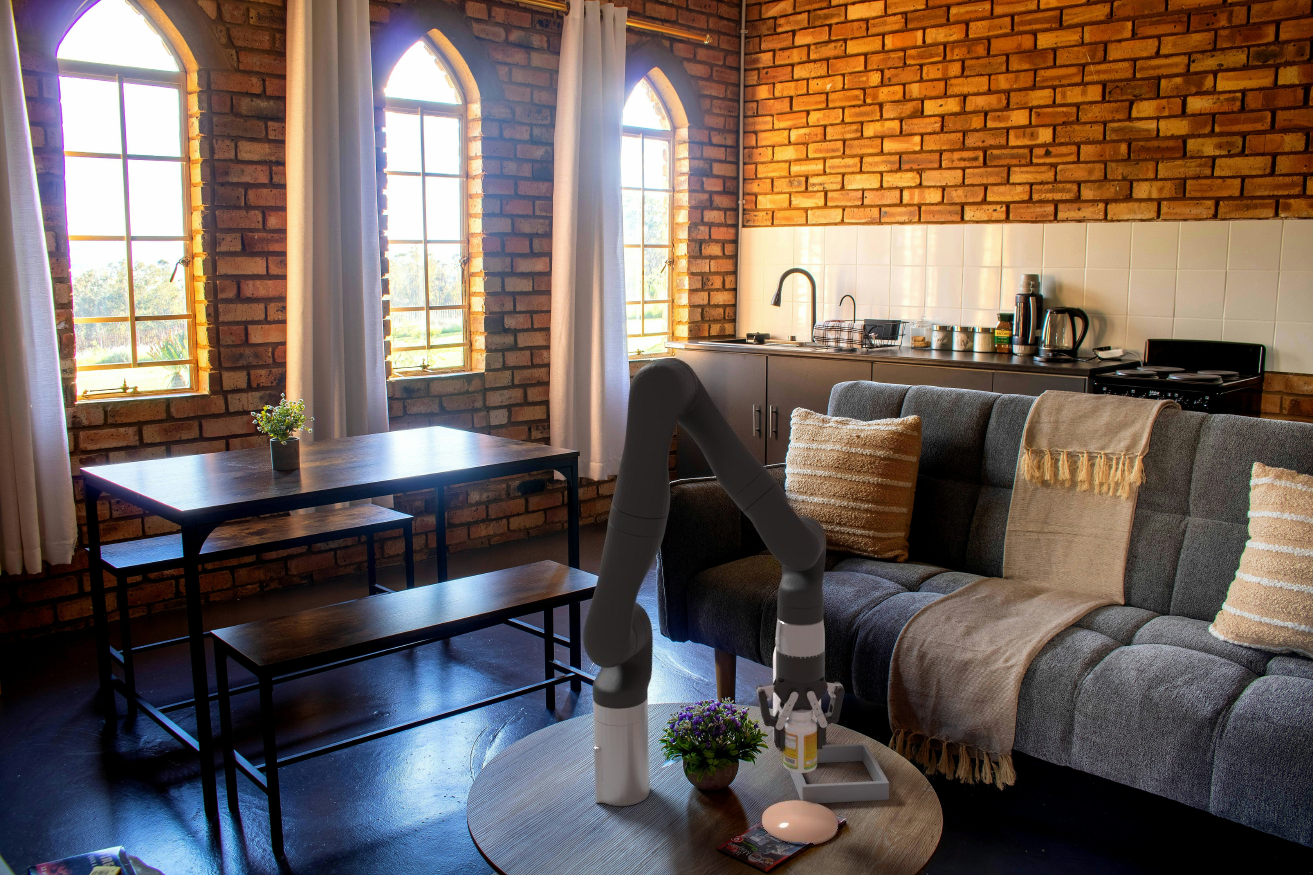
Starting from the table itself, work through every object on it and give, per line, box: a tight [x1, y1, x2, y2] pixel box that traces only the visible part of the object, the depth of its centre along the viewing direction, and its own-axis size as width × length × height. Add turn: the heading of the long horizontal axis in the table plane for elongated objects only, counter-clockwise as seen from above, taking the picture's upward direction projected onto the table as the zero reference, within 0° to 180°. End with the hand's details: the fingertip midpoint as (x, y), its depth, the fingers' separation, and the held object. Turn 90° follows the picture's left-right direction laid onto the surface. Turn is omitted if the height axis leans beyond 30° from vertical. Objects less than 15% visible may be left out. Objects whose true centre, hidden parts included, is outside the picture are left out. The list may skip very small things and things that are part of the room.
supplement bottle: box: [782, 708, 818, 774], centre depth 159 cm, size 5×5×10 cm
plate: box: [761, 799, 839, 845], centre depth 161 cm, size 12×12×1 cm
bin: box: [789, 742, 890, 804], centre depth 175 cm, size 15×15×3 cm
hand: (800, 747), depth 159 cm, fingers closed on supplement bottle, 5 cm apart
